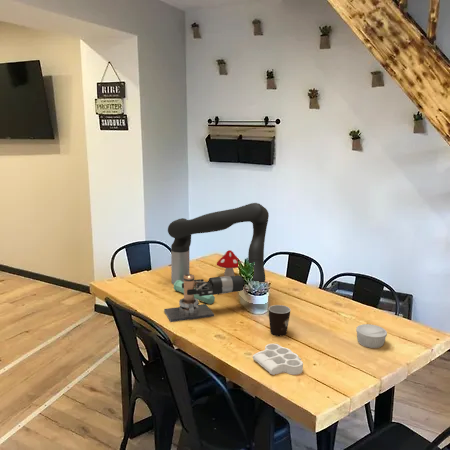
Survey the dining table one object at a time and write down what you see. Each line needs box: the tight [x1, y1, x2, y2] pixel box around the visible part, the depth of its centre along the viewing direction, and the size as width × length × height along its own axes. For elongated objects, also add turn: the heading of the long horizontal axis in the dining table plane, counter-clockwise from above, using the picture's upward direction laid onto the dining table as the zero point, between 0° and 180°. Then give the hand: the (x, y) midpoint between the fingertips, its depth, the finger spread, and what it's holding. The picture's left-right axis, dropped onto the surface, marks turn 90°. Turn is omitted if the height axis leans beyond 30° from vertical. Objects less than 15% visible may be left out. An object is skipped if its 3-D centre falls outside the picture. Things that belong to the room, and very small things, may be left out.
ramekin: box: [355, 323, 388, 349], centre depth 181 cm, size 11×11×5 cm
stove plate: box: [163, 297, 215, 323], centre depth 205 cm, size 12×19×6 cm, turn 110°
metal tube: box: [183, 273, 195, 310], centre depth 204 cm, size 5×5×16 cm
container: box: [173, 280, 216, 305], centre depth 226 cm, size 6×6×25 cm
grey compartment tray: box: [252, 343, 304, 376], centre depth 165 cm, size 3×18×15 cm
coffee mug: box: [268, 304, 292, 337], centre depth 188 cm, size 12×9×10 cm
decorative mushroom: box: [216, 249, 243, 276], centre depth 254 cm, size 14×14×15 cm
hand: (184, 289), depth 203 cm, fingers open, 8 cm apart
